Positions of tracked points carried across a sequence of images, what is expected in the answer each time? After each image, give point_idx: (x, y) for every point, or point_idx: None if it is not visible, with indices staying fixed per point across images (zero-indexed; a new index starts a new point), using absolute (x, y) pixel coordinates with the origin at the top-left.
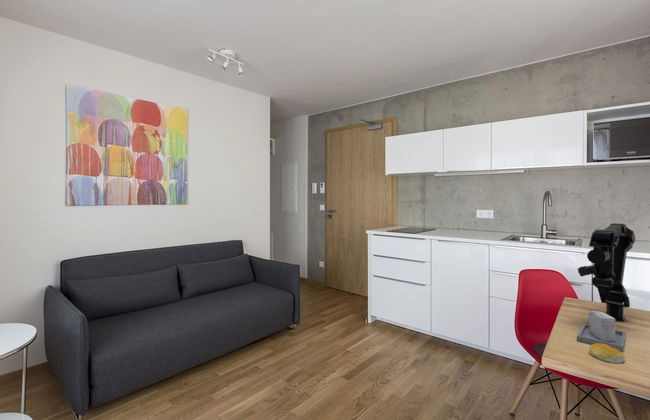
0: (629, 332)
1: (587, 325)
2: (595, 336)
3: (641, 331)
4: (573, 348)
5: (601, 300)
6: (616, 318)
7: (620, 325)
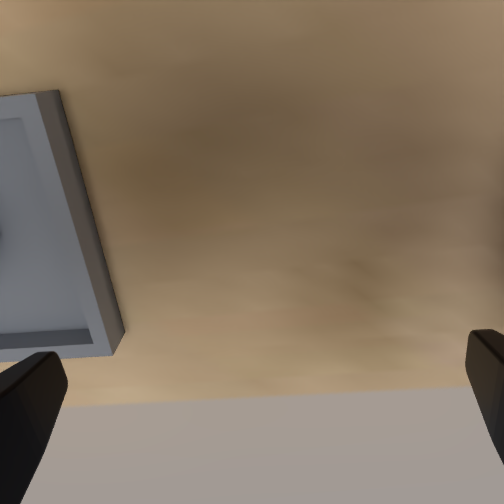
0: (262, 337)
1: (29, 131)
2: None
3: (351, 380)
4: None
5: (37, 361)
6: None
7: (403, 281)
